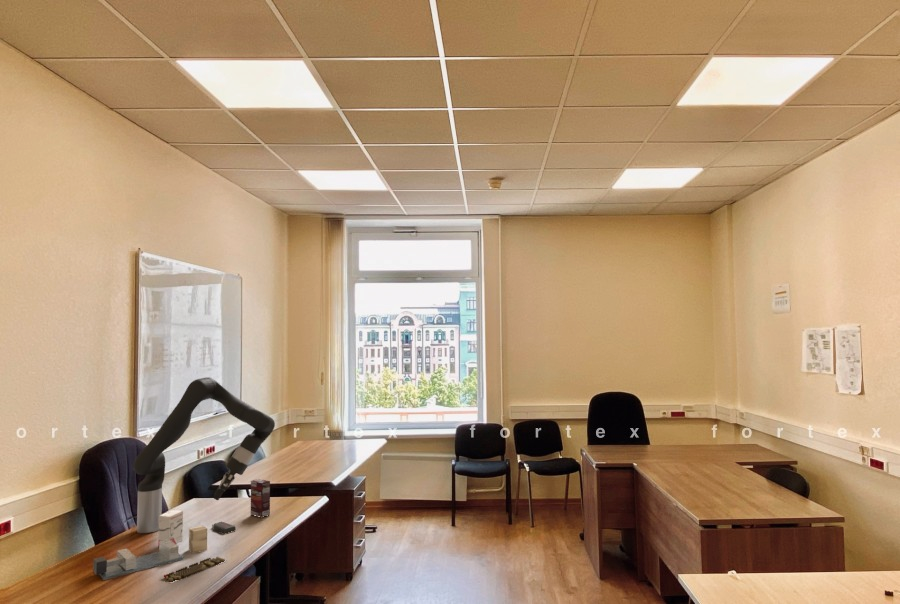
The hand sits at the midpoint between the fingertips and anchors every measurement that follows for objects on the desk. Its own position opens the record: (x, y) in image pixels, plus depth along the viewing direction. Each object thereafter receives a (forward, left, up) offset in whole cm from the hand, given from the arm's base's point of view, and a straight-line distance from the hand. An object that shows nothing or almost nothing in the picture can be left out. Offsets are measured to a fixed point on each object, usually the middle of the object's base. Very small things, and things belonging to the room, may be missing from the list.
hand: (215, 497), depth 214 cm
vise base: (-2, -26, -19) cm, 32 cm away
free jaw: (-2, -34, -17) cm, 38 cm away
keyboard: (+18, -14, -20) cm, 30 cm away
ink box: (-18, -11, -19) cm, 28 cm away
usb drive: (-19, +10, -19) cm, 29 cm away
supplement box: (-26, +30, -19) cm, 44 cm away
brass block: (-2, -6, -19) cm, 20 cm away
